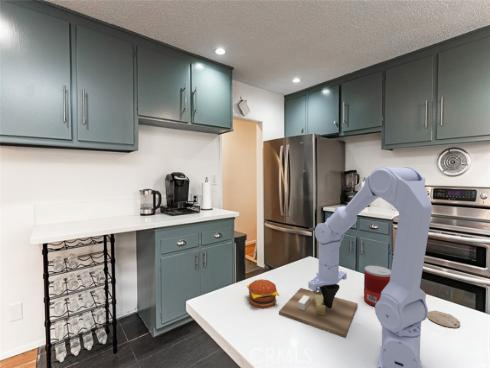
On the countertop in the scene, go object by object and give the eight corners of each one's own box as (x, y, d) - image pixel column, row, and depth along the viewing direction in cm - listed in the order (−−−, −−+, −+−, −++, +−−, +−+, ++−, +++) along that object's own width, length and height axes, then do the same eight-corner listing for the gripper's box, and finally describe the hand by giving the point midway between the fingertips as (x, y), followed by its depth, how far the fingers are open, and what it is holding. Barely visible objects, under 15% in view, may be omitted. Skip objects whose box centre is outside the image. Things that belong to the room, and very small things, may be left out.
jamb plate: (345, 337, 64) (345, 333, 64) (278, 314, 75) (278, 311, 75) (357, 306, 79) (357, 303, 79) (300, 290, 90) (300, 287, 90)
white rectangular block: (304, 310, 75) (304, 303, 75) (298, 308, 76) (298, 301, 76) (309, 303, 79) (309, 296, 79) (303, 301, 80) (303, 295, 80)
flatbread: (455, 332, 66) (455, 329, 66) (422, 319, 73) (422, 315, 73) (464, 321, 71) (464, 318, 71) (432, 309, 77) (432, 306, 77)
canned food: (395, 310, 77) (396, 275, 76) (367, 307, 78) (368, 273, 78) (386, 298, 84) (387, 266, 84) (361, 295, 86) (361, 264, 85)
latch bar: (312, 298, 82) (312, 287, 82) (321, 298, 81) (321, 288, 81) (315, 314, 73) (315, 302, 72) (325, 315, 72) (325, 303, 72)
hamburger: (281, 306, 79) (281, 286, 79) (252, 311, 77) (252, 290, 76) (270, 292, 88) (270, 274, 88) (244, 296, 86) (244, 277, 85)
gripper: (333, 254, 81) (332, 294, 82) (301, 263, 74) (300, 307, 74) (352, 261, 75) (351, 304, 76) (319, 271, 68) (318, 319, 68)
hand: (327, 306), depth 75 cm, fingers closed, pressing on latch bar
